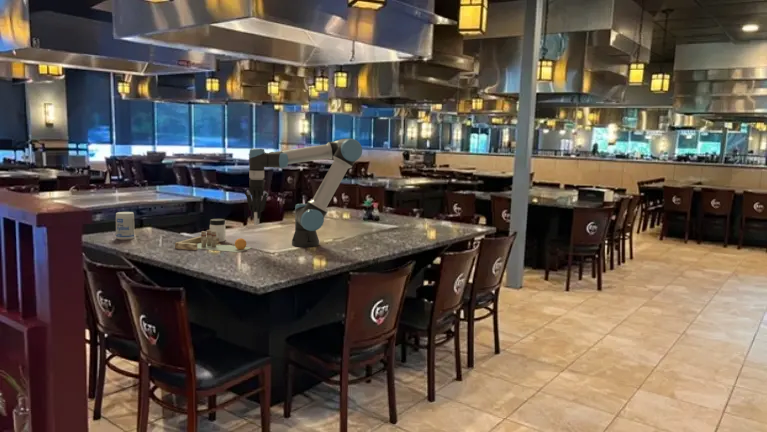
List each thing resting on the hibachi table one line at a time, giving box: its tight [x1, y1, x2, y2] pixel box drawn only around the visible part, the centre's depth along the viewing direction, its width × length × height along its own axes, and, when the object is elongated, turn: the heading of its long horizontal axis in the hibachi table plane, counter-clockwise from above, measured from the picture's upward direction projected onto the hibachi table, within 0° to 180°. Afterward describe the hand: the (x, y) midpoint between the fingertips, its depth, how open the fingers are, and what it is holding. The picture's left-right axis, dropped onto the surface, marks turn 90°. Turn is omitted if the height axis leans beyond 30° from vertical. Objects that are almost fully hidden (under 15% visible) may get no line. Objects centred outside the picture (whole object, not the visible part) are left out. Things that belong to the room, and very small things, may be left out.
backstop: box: [174, 235, 220, 251], centre depth 307 cm, size 12×22×3 cm, turn 164°
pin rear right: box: [206, 229, 212, 246], centre depth 308 cm, size 2×2×8 cm
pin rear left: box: [200, 230, 207, 247], centre depth 303 cm, size 2×2×8 cm
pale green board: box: [197, 243, 253, 253], centre depth 304 cm, size 32×14×1 cm, turn 74°
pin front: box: [211, 231, 216, 247], centre depth 304 cm, size 2×2×8 cm
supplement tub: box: [115, 211, 135, 241], centre depth 321 cm, size 10×10×15 cm
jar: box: [209, 218, 226, 243], centre depth 324 cm, size 9×8×12 cm
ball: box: [234, 237, 247, 250], centre depth 300 cm, size 6×6×6 cm
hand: (256, 224), depth 296 cm, fingers closed
